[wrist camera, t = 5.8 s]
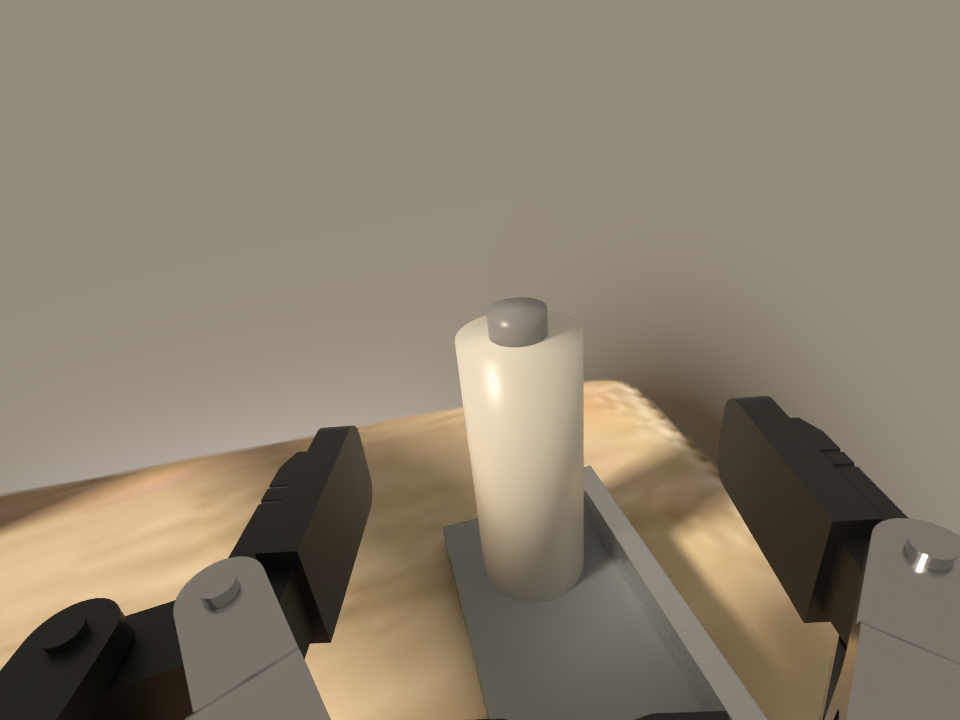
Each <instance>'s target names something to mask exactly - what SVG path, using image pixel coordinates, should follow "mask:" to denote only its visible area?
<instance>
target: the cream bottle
mask: <svg viewBox="0 0 960 720" xmlns="http://www.w3.org/2000/svg"><path fill="white" fill-rule="evenodd" d="M486 313H487V315H486V316H483V317H480V318H478V319H475V320H473V321H471V322H470V323H468V324H466V325H465V326H464V327H463V328H461V329H460V330H459V332H458V333H457V334H456V337H455V345H456V354H457V361H458V369H459V377H460V384H461V392H462V399H463V407H464V415H465V423H466V430H467V438H468V446H469V453H470V461H471V469H472V476H473V484H474V492H475V499H476V507H477V514H478V522H479V530H480V537H481V545H482V553H483V560H484V567H485V571H486V574H487V576H488V578H489V580H490V581H491V582H492V584H493V585H494V586H495V587H496V588H497V589H498V590H500V591H501V592H502V593H504V594H506V595H507V596H509V597H512V598H514V599H518V600H521V601H527V602H541V601H547V600H551V599H554V598H557V597H559V596H561V595H563V594H564V593H566V592H568V591H569V590H570V589H571V588H572V587H573V586H574V585H575V584H576V583H577V581H578V580H579V578H580V576H581V574H582V570H583V565H584V452H583V329H582V327H581V326H580V324H579V323H578V322H576V321H575V320H574V319H572V318H570V317H568V316H566V315H563V314H559V313H556V312H552V311H547V305H546V304H545V303H544V302H542V301H540V300H537V299H533V298H509V299H505V300H501V301H498V302H496V303H493V304H492V305H490V306H489V307H488V308H487V310H486Z"/></svg>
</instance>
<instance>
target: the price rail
mask: <svg viewBox="0 0 960 720" xmlns="http://www.w3.org/2000/svg"><path fill="white" fill-rule="evenodd" d="M584 513H585V515H586V517H587V518H588V520H589V522H590V523H591V525H592V527H593V528H594V530H595V532H596V533H597V535H598V537H599V538H600V540H601V542H602V543H603V545H604V547H605V548H606V550H607V552H608V553H609V555H610V557H611V558H612V560H613V562H614V563H615V565H616V567H617V568H618V570H619V571H620V573H621V575H622V576H623V578H624V580H625V581H626V583H627V585H628V586H629V588H630V590H631V591H632V593H633V595H634V596H635V598H636V600H637V601H638V603H639V605H640V606H641V608H642V610H643V611H644V613H645V615H646V616H647V618H648V620H649V621H650V623H651V625H652V626H653V628H654V630H655V631H656V633H657V635H658V636H659V638H660V640H661V641H662V643H663V645H664V646H665V648H666V650H667V651H668V653H669V655H670V656H671V658H672V659H673V661H674V663H675V664H676V666H677V668H678V669H679V671H680V673H681V674H682V676H683V678H684V679H685V681H686V683H687V684H688V686H689V688H690V689H691V691H692V693H693V694H694V696H695V698H696V699H697V701H698V703H699V704H700V706H701V708H702V709H703V711H704V712H705V711H727V714H728V717H729V719H730V720H768V719H767V718H766V716H765V715H764V714H763V712H762V711H761V709H760V708H759V706H758V705H757V704H756V702H755V701H754V699H753V698H752V696H751V695H750V694H749V692H748V691H747V689H746V688H745V686H744V685H743V684H742V682H741V681H740V679H739V678H738V676H737V675H736V674H735V672H734V671H733V669H732V668H731V666H730V665H729V664H728V662H727V661H726V659H725V658H724V656H723V655H722V653H721V652H720V651H719V649H718V648H717V646H716V645H715V643H714V642H713V641H712V639H711V638H710V636H709V635H708V633H707V632H706V631H705V629H704V628H703V626H702V625H701V623H700V622H699V621H698V619H697V618H696V616H695V615H694V613H693V612H692V611H691V609H690V608H689V606H688V605H687V603H686V602H685V600H684V599H683V598H682V596H681V595H680V593H679V592H678V590H677V589H676V588H675V586H674V585H673V583H672V582H671V580H670V579H669V578H668V576H667V575H666V573H665V572H664V570H663V569H662V568H661V566H660V565H659V563H658V562H657V560H656V559H655V558H654V556H653V555H652V553H651V552H650V550H649V549H648V547H647V546H646V545H645V543H644V542H643V540H642V539H641V537H640V536H639V535H638V533H637V532H636V530H635V529H634V527H633V526H632V525H631V523H630V522H629V520H628V519H627V517H626V516H625V515H624V513H623V512H622V510H621V509H620V507H619V506H618V505H617V503H616V502H615V500H614V499H613V497H612V496H611V494H610V493H609V492H608V490H607V489H606V487H605V486H604V484H603V483H602V482H601V480H600V479H599V477H598V476H597V474H596V473H595V472H594V470H593V469H592V467H591V466H587V467H584Z"/></svg>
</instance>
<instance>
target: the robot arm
mask: <svg viewBox="0 0 960 720" xmlns="http://www.w3.org/2000/svg"><path fill="white" fill-rule="evenodd" d="M718 469H719V474H720V478H721V481H722V484H723V486H724V488H725V490H726V491H727V493H728V495H729V496H730V498H731V500H732V501H733V503H734V505H735V507H736V508H737V510H738V512H739V513H740V515H741V517H742V518H743V520H744V522H745V523H746V525H747V527H748V529H749V530H750V532H751V534H752V535H753V537H754V539H755V540H756V542H757V544H758V546H759V547H760V549H761V551H762V552H763V554H764V556H765V557H766V559H767V561H768V562H769V564H770V566H771V568H772V569H773V571H774V573H775V574H776V576H777V578H778V579H779V581H780V583H781V585H782V586H783V588H784V590H785V591H786V593H787V595H788V596H789V598H790V600H791V602H792V603H793V605H794V607H795V608H796V610H797V612H798V613H799V615H800V617H801V618H802V620H803V622H804V623H811V622H831V623H832V624H833V626H834V627H835V629H836V631H837V632H838V637H837V640H836V643H835V646H834V651H833V656H832V661H831V666H830V670H829V675H828V680H827V685H826V690H825V695H824V700H823V705H822V710H821V715H820V720H960V536H959V535H957V534H955V533H953V532H952V531H949V530H947V529H945V528H943V527H940V526H938V525H935V524H932V523H928V522H924V521H921V520H915V519H909V518H908V517H907V516H906V515H905V514H904V513H902V511H901V510H900V509H899V508H898V507H897V506H896V505H895V504H894V503H893V502H892V501H891V500H890V499H889V498H888V497H887V496H886V495H885V494H884V493H883V492H882V491H881V490H880V489H879V488H878V487H877V486H876V485H875V484H874V483H873V482H872V481H871V480H870V479H869V478H868V477H867V476H866V475H865V474H864V473H863V472H862V471H861V470H860V469H859V467H855V466H854V462H853V461H852V460H851V459H850V458H849V457H848V456H847V455H846V454H845V453H844V452H840V448H839V447H838V446H837V445H836V444H835V443H834V442H833V441H832V440H831V439H830V438H829V437H828V436H827V435H826V434H825V433H824V432H823V431H821V430H820V429H818V428H816V427H814V426H812V425H811V424H809V423H807V422H805V421H804V420H802V419H800V418H789V417H788V416H787V414H786V413H785V412H784V411H783V410H782V409H781V408H780V407H779V406H778V405H777V404H776V402H775V401H774V400H773V399H772V398H770V397H769V396H757V397H745V398H731V399H729V400H728V401H727V402H726V405H725V409H724V416H723V423H722V431H721V439H720V446H719V454H718ZM371 503H372V484H371V478H370V474H369V470H368V466H367V463H366V459H365V455H364V451H363V447H362V443H361V439H360V435H359V432H358V430H357V428H356V427H355V426H343V427H329V428H320V429H319V430H318V432H317V434H316V436H315V438H314V439H313V441H312V443H311V445H310V447H309V449H308V451H307V452H297V453H296V454H295V455H294V456H293V457H292V458H290V459H289V460H288V461H287V462H286V463H285V464H284V465H283V466H281V467H280V468H279V470H278V472H277V474H276V475H275V477H274V479H273V481H272V482H271V484H270V489H267V491H266V493H265V495H264V496H263V498H262V500H261V504H259V505H258V507H257V509H256V510H255V512H254V514H253V516H252V517H251V519H250V521H249V523H248V524H247V526H246V528H245V530H244V531H243V533H242V535H241V537H240V538H239V540H238V542H237V544H236V545H235V547H234V549H233V551H232V552H231V554H230V556H229V558H227V559H224V560H221V561H218V562H216V563H214V564H212V565H210V566H208V567H206V568H205V569H203V570H202V571H200V572H199V573H198V574H196V575H195V576H194V577H193V578H192V579H191V580H190V581H189V582H188V583H187V584H186V585H185V586H184V587H183V589H182V590H181V591H180V593H179V595H178V596H177V598H176V600H174V601H172V602H169V603H166V604H162V605H159V606H156V607H153V608H150V609H147V610H144V611H141V612H137V613H134V614H131V615H128V616H124V614H123V613H122V611H121V609H120V608H119V606H118V605H117V604H116V603H115V602H114V601H112V600H110V599H105V598H95V599H90V600H86V601H82V602H79V603H77V604H74V605H72V606H70V607H68V608H66V609H64V610H62V611H60V612H58V613H57V614H55V615H53V616H52V617H51V618H49V619H48V620H46V621H45V622H44V623H42V624H41V625H40V626H39V627H38V628H36V629H35V630H34V631H33V632H32V633H31V634H30V635H29V636H28V637H27V639H26V640H25V641H24V642H23V643H22V644H21V646H20V647H19V648H18V649H17V651H16V652H15V653H14V654H13V656H12V657H11V658H10V659H9V661H8V662H7V663H6V664H5V666H4V667H3V668H2V669H1V671H0V720H331V719H330V717H329V715H328V712H327V710H326V708H325V706H324V703H323V701H322V699H321V696H320V694H319V692H318V690H317V687H316V685H315V683H314V680H313V678H312V676H311V674H310V671H309V669H308V667H307V664H306V662H305V660H304V659H305V656H306V653H307V650H308V647H309V644H310V643H331V640H332V637H333V634H334V630H335V627H336V623H337V620H338V617H339V613H340V610H341V607H342V603H343V600H344V596H345V593H346V590H347V586H348V583H349V579H350V576H351V573H352V569H353V566H354V562H355V559H356V556H357V552H358V549H359V546H360V542H361V539H362V535H363V532H364V529H365V525H366V522H367V518H368V515H369V512H370V508H371ZM478 720H507V719H478ZM634 720H730V719H729V717H728V714H727V711H705V712H676V713H652V714H649V715H646V716H643V717H640V718H637V719H634Z"/></svg>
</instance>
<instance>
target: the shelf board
mask: <svg viewBox="0 0 960 720" xmlns="http://www.w3.org/2000/svg"><path fill="white" fill-rule="evenodd" d="M443 531H444V537H445V542H446V547H447V551H448V555H449V559H450V563H451V567H452V571H453V575H454V579H455V583H456V587H457V591H458V596H459V600H460V604H461V608H462V612H463V616H464V620H465V624H466V628H467V632H468V636H469V640H470V645H471V649H472V653H473V657H474V661H475V665H476V669H477V673H478V677H479V681H480V685H481V689H482V694H483V698H484V702H485V706H486V710H487V714H488V718H489V719H507V720H634V719H637V718H640V717H643V716H646V715H649V714H652V713H676V712H704V711H703V709H702V708H701V706H700V704H699V703H698V701H697V699H696V698H695V696H694V694H693V693H692V691H691V689H690V688H689V686H688V684H687V683H686V681H685V679H684V678H683V676H682V674H681V673H680V671H679V669H678V668H677V666H676V664H675V663H674V661H673V659H672V658H671V656H670V655H669V653H668V651H667V650H666V648H665V646H664V645H663V643H662V641H661V640H660V638H659V636H658V635H657V633H656V631H655V630H654V628H653V626H652V625H651V623H650V621H649V620H648V618H647V616H646V615H645V613H644V611H643V610H642V608H641V606H640V605H639V603H638V601H637V600H636V598H635V596H634V595H633V593H632V591H631V590H630V588H629V586H628V585H627V583H626V581H625V580H624V578H623V576H622V575H621V573H620V571H619V570H618V568H617V567H616V565H615V563H614V562H613V560H612V558H611V557H610V555H609V553H608V552H607V550H606V548H605V547H604V545H603V543H602V542H601V540H600V538H599V537H598V535H597V533H596V532H595V530H594V528H593V527H592V525H591V523H590V522H589V520H588V518H587V517H586V515H585V513H584V565H583V570H582V574H581V576H580V578H579V580H578V581H577V583H576V584H575V585H574V586H573V587H572V588H571V589H570V590H569V591H568V592H566V593H564V594H563V595H561V596H559V597H557V598H554V599H551V600H547V601H541V602H527V601H521V600H518V599H514V598H512V597H509V596H507V595H506V594H504V593H502V592H501V591H500V590H498V589H497V588H496V587H495V586H494V585H493V584H492V582H491V581H490V580H489V578H488V576H487V574H486V571H485V567H484V560H483V553H482V545H481V537H480V530H479V522H478V519H474V520H470V521H466V522H462V523H458V524H454V525H450V526H446V527H443Z"/></svg>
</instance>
